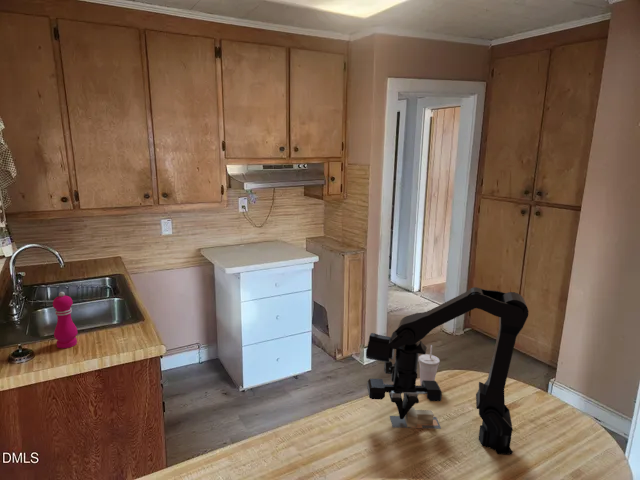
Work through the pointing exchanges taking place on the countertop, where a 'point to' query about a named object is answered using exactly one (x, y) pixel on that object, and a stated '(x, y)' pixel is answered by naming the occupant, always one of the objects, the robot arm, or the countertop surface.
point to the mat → (402, 424)
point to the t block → (418, 417)
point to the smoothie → (428, 366)
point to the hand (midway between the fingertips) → (401, 418)
